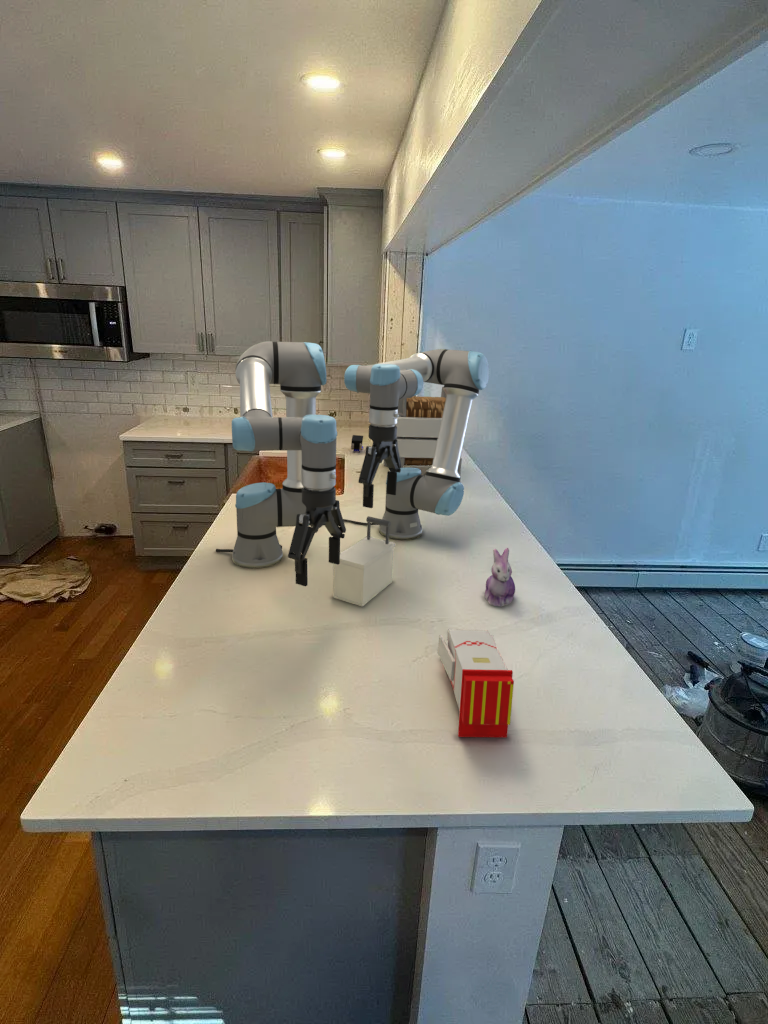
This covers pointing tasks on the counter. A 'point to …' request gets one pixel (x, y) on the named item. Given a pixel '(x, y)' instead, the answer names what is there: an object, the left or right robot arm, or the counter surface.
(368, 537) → the lid
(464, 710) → the toy
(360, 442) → the figurine character
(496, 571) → the figurine
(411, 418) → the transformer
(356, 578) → the chest
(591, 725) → the counter surface
